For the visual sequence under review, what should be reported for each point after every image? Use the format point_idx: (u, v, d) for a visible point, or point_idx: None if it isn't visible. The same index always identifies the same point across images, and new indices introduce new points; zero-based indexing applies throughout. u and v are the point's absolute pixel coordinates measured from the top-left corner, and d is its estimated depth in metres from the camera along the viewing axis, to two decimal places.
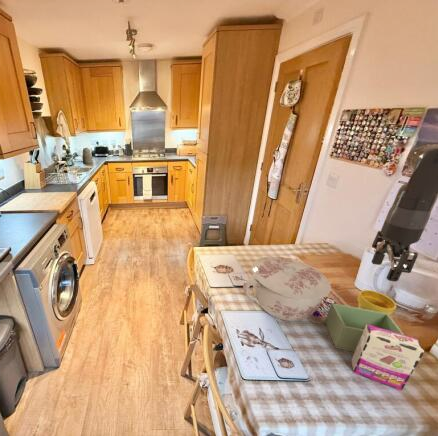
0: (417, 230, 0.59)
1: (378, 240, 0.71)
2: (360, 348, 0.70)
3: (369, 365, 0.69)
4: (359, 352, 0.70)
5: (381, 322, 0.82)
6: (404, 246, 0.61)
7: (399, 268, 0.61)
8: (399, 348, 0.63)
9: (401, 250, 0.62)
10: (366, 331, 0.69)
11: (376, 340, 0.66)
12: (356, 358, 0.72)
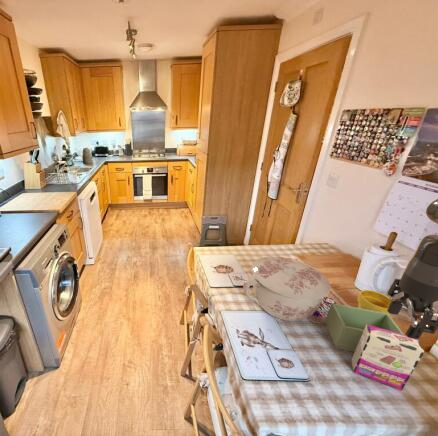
0: None
1: (395, 288, 0.66)
2: (360, 348, 0.70)
3: (369, 365, 0.69)
4: (359, 352, 0.70)
5: (381, 322, 0.82)
6: (427, 303, 0.56)
7: (421, 328, 0.55)
8: (399, 348, 0.63)
9: (423, 308, 0.56)
10: (366, 331, 0.69)
11: (376, 340, 0.66)
12: (356, 358, 0.72)
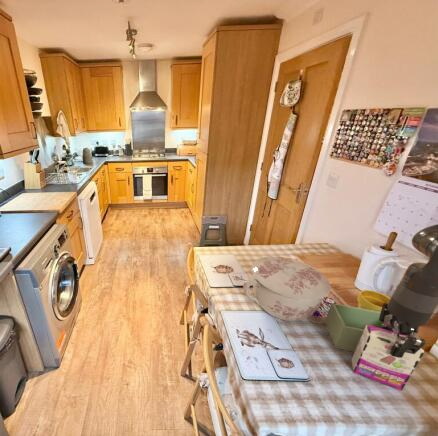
0: (426, 314, 0.57)
1: (385, 313, 0.68)
2: (360, 348, 0.70)
3: (369, 366, 0.69)
4: (359, 353, 0.70)
5: (381, 322, 0.82)
6: (412, 327, 0.59)
7: (403, 348, 0.60)
8: None
9: (409, 331, 0.59)
10: (366, 331, 0.68)
11: (376, 340, 0.66)
12: (356, 358, 0.72)
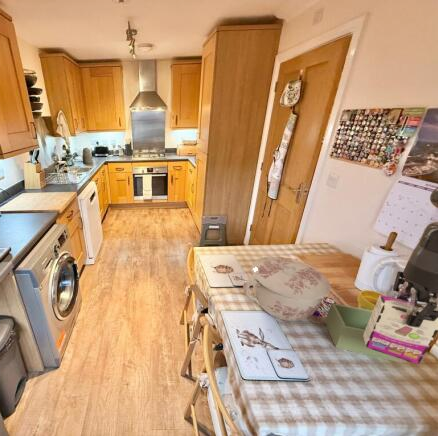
0: None
1: (399, 282, 0.64)
2: (373, 321, 0.66)
3: (383, 339, 0.64)
4: (372, 325, 0.66)
5: None
6: (432, 292, 0.55)
7: (422, 316, 0.56)
8: None
9: (428, 296, 0.55)
10: (380, 302, 0.64)
11: (391, 310, 0.61)
12: (369, 332, 0.67)
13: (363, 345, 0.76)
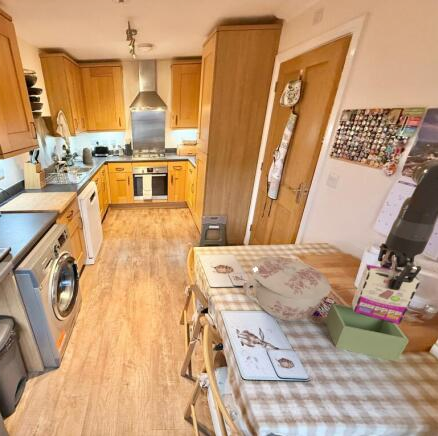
0: (421, 242, 0.61)
1: (383, 253, 0.73)
2: (360, 287, 0.74)
3: (369, 303, 0.73)
4: (359, 292, 0.74)
5: (381, 322, 0.82)
6: (409, 257, 0.63)
7: (400, 278, 0.64)
8: None
9: (406, 261, 0.63)
10: (366, 270, 0.73)
11: (375, 276, 0.70)
12: (356, 298, 0.76)
13: (363, 345, 0.76)
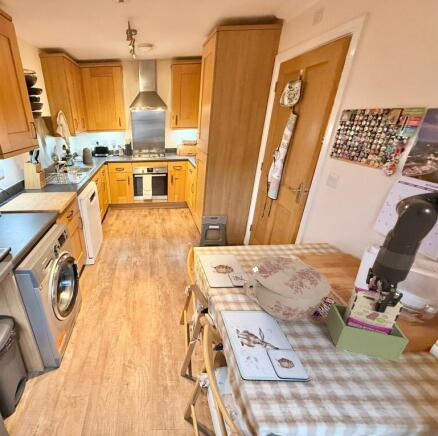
0: (403, 271, 0.66)
1: (370, 276, 0.78)
2: (349, 308, 0.80)
3: (357, 323, 0.78)
4: (348, 312, 0.79)
5: None
6: (392, 284, 0.68)
7: (385, 303, 0.69)
8: None
9: (390, 287, 0.69)
10: (354, 292, 0.78)
11: (362, 299, 0.75)
12: (346, 318, 0.81)
13: (363, 345, 0.76)
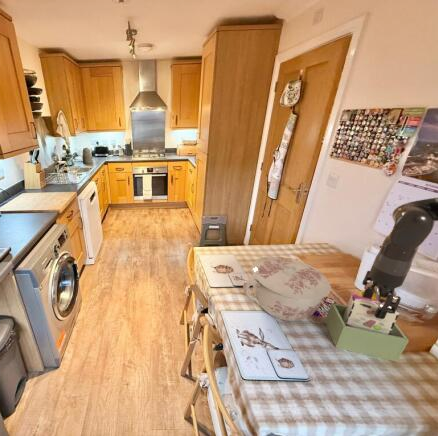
0: (400, 277, 0.67)
1: (368, 279, 0.79)
2: (346, 315, 0.81)
3: None
4: (346, 319, 0.81)
5: None
6: (389, 289, 0.69)
7: (385, 309, 0.69)
8: None
9: (386, 293, 0.69)
10: (351, 300, 0.79)
11: (359, 307, 0.76)
12: None
13: (363, 345, 0.76)
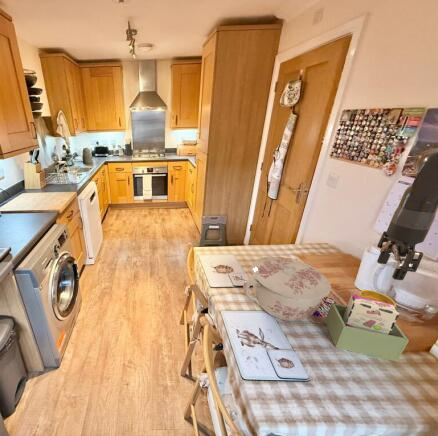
0: (422, 230, 0.61)
1: (384, 240, 0.73)
2: (346, 315, 0.81)
3: None
4: (346, 319, 0.81)
5: None
6: (410, 246, 0.63)
7: (405, 267, 0.63)
8: (379, 313, 0.74)
9: (407, 250, 0.64)
10: (351, 300, 0.79)
11: (359, 307, 0.76)
12: None
13: (363, 345, 0.76)
